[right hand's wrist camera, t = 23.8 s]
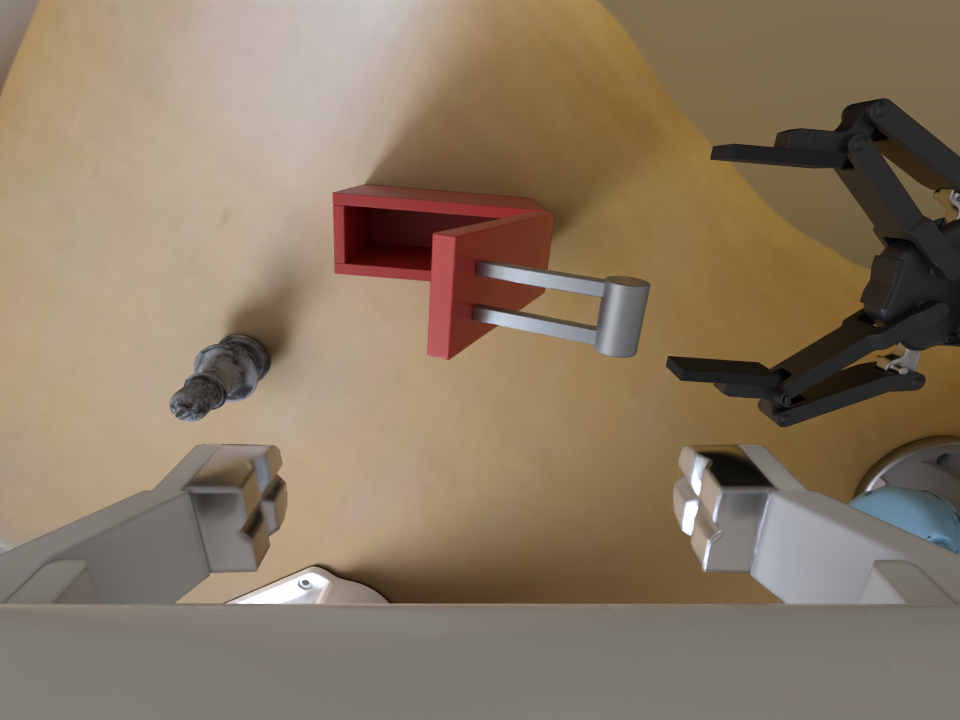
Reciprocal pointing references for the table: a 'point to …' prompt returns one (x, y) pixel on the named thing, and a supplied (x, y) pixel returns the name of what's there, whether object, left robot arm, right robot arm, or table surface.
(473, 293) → the lid
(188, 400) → the grey chess bishop
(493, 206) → the chest
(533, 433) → the table surface
